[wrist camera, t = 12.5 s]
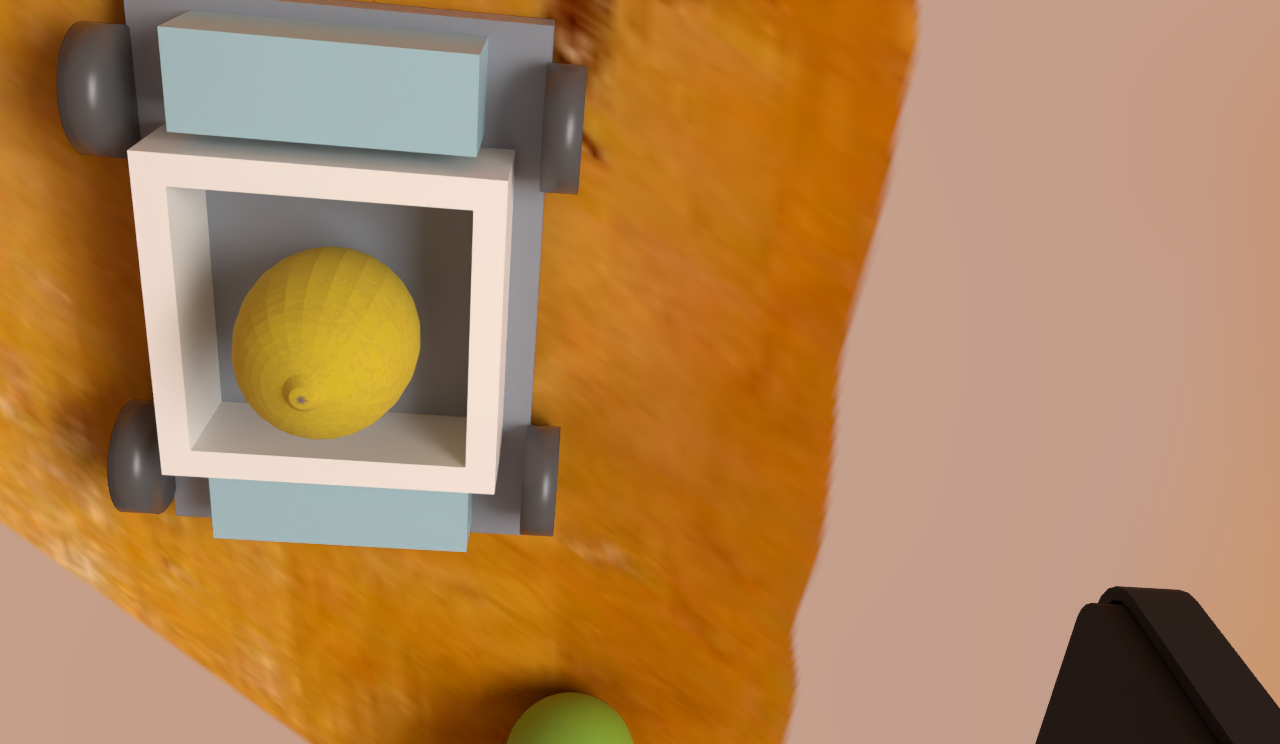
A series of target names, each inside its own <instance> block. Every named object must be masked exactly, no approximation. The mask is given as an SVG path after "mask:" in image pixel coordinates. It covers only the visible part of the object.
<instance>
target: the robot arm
mask: <svg viewBox="0 0 1280 744" xmlns="http://www.w3.org/2000/svg"><path fill="white" fill-rule="evenodd" d="M1036 744H1280V708H1279V707H1278V706H1277V704H1276V703H1275V702H1274V700H1273V699H1272V698H1271V696H1270V695H1269V694H1268V693H1267V691H1266V690H1265V689H1264V687H1263V686H1262V685H1261V683H1260V682H1259V681H1258V680H1257V678H1256V677H1255V676H1254V674H1253V673H1252V672H1251V671H1250V669H1249V668H1248V667H1247V665H1246V664H1245V663H1244V661H1243V660H1242V659H1241V657H1240V656H1239V655H1238V654H1237V652H1236V651H1235V650H1234V648H1233V647H1232V646H1231V644H1230V643H1229V642H1228V641H1227V639H1226V638H1225V637H1224V635H1223V634H1222V633H1221V632H1220V630H1219V629H1218V628H1217V626H1216V625H1215V624H1214V622H1213V621H1212V620H1211V619H1210V617H1209V616H1208V615H1207V613H1206V612H1205V611H1204V609H1203V608H1202V607H1201V606H1200V604H1199V603H1198V602H1197V601H1196V600H1195V599H1194V598H1193V597H1192V596H1191V595H1190V594H1189V593H1187V592H1184V591H1181V590H1172V589H1155V588H1136V587H1118V586H1116V587H1112V588H1109V589H1107V591H1106V592H1105V593H1104V594H1103V595H1102V596H1101V598H1100V600H1099V602H1098V603H1090V604H1087V605H1085V606H1084V607H1083V608H1082V609H1081V611H1080V613H1079V615H1078V617H1077V620H1076V623H1075V626H1074V629H1073V632H1072V635H1071V638H1070V641H1069V644H1068V647H1067V650H1066V653H1065V656H1064V659H1063V662H1062V665H1061V668H1060V671H1059V674H1058V677H1057V680H1056V683H1055V686H1054V689H1053V692H1052V696H1051V699H1050V701H1049V704H1048V707H1047V711H1046V713H1045V717H1044V719H1043V723H1042V725H1041V728H1040V732H1039V735H1038V737H1037V740H1036Z"/></svg>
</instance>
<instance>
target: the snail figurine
mask: <svg viewBox="0 0 1280 744" xmlns="http://www.w3.org/2000/svg"><path fill="white" fill-rule="evenodd" d="M506 744H634V743H633V740H632V737H631V734H630V731H629V729H628V727H627V725H626V724H625V722H624V721H623V719H622V718H621V717H620V715H619V714H618V713H617V712H616V711H615V710H614V709H613V708H612V707H611V706H609V705H608V704H607V703H605V702H603V701H602V700H600V699H598V698H596V697H593V696H591V695H587V694H583V693H576V692H566V693H559V694H555V695H551V696H548V697H546V698H544V699H542V700H540V701H538V702H536V703H535V704H533V705H532V706H531V707H530V708H528V709H527V710H526V711H525V712H524V713H523V714H522V715H521V717H520V718H519V719H518V720H517V722H516V723H515V725H514V727H513V728H512V730H511V732H510V735H509V737H508V740H507V743H506Z"/></svg>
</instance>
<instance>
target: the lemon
mask: <svg viewBox="0 0 1280 744" xmlns="http://www.w3.org/2000/svg"><path fill="white" fill-rule="evenodd" d="M419 352H420V321H419V317H418V314H417V310H416V307H415V304H414V300H413V298H412V296H411V295H410V293H409V291H408V290H407V288H406V286H405V285H404V283H403V281H402V280H401V279H400V278H399V277H398V276H397V275H396V274H395V273H394V272H393V271H392V270H391V269H390V268H389V267H388V266H387V265H385V264H383V263H382V262H380V261H379V260H377V259H376V258H374V257H372V256H371V255H368V254H365V253H363V252H360V251H357V250H354V249H351V248H342V247H333V246H326V247H319V248H311V249H306V250H304V251H301V252H298V253H296V254H293V255H291V256H288V257H286V258H284V259H282V260H281V261H280V262H278V263H277V264H276V265H274V266H273V267H272V268H270V269H269V270H268V271H266V272H265V273H264V274H263V275H262V276H261V277H260V278H259V279H258V281H257V282H256V283H255V285H254V286H253V287H252V289H251V290H250V291H249V293H248V294H247V295H246V297H245V299H244V300H243V303H242V305H241V308H240V311H239V314H238V316H237V319H236V322H235V325H234V329H233V338H232V364H233V369H234V373H235V377H236V381H237V384H238V386H239V388H240V390H241V392H242V394H243V396H244V398H245V399H246V401H247V403H248V404H249V405H250V406H251V407H252V408H253V409H254V411H255V412H256V413H257V414H258V415H259V416H260V417H261V418H263V419H264V420H265V421H267V422H268V423H270V424H271V425H273V426H274V427H275V428H277V429H279V430H282V431H284V432H286V433H289V434H291V435H293V436H298V437H303V438H308V439H335V438H339V437H343V436H347V435H351V434H354V433H356V432H358V431H360V430H362V429H364V428H366V427H368V426H370V425H372V424H373V423H375V422H376V421H377V420H378V419H379V418H380V417H382V416H383V415H384V414H385V413H386V412H387V411H388V410H389V409H390V408H391V407H392V406H393V405H395V403H396V402H397V401H398V400H399V398H400V396H401V395H402V393H403V392H404V390H405V388H406V387H407V385H408V383H409V382H410V380H411V379H412V376H413V374H414V370H415V367H416V363H417V360H418V356H419Z"/></svg>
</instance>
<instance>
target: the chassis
mask: <svg viewBox="0 0 1280 744" xmlns="http://www.w3.org/2000/svg"><path fill="white" fill-rule="evenodd" d="M124 10H125V20H126V25H122V24H111V23H99V22H88V21H79V22H76V23H75V24H73V25H72V26H71V27H70V29H69V30H68V31H67V33H66V35H65V37H64V40H63V42H62V45H61V49H60V53H59V58H58V65H57V85H56V86H57V101H58V108H59V114H60V118H61V122H62V126H63V129H64V131H65V134H66V136H67V138H68V140H69V142H70V144H71V145H72V147H73V148H74V149H75V150H76V151H77V152H78V153H80V154H82V155H87V156H99V157H112V158H124V159H127V158H128V164H129V173H130V182H131V192H132V201H133V210H134V220H135V229H136V238H137V248H138V257H139V266H140V276H141V285H142V294H143V304H144V313H145V322H146V332H147V341H148V350H149V360H150V369H151V378H152V388H153V397H154V401H151V400H131V401H129V402H127V403H126V404H125V405H124V407H123V408H122V410H121V411H120V413H119V415H118V417H117V419H116V422H115V425H114V428H113V431H112V435H111V440H110V445H109V452H108V463H107V477H108V487H109V492H110V496H111V499H112V502H113V504H114V506H115V507H116V508H117V509H118V510H119V511H121V512H134V513H152V514H160V513H162V512H164V511H165V510H166V509H167V508H168V506H169V505H170V503H171V501H172V499H173V497H174V498H175V508H176V515H178V516H196V517H212V523H213V535H214V538H223V539H241V540H259V541H277V542H294V543H312V544H330V545H348V546H366V547H384V548H402V549H420V550H438V551H456V552H466V551H467V545H468V540H469V534H470V532H476V533H493V534H511V535H537V536H553V531H554V518H555V504H556V490H557V475H558V460H559V444H560V427H554V426H538V425H531V415H532V398H533V381H534V364H535V348H536V331H537V314H538V297H539V280H540V263H541V247H542V230H543V213H544V196H545V192H549V193H561V194H574V195H578V186H579V174H580V161H581V147H582V134H583V119H584V104H585V89H586V72H587V66H584V65H572V64H561V63H552V61H553V45H554V28H555V20H553V19H542V18H531V17H520V16H509V15H498V14H488V13H477V12H466V11H455V10H444V9H433V8H422V7H411V6H400V5H389V4H378V3H368V2H357V1H346V0H124ZM326 246H333V247H342V248H351V249H354V250H357V251H360V252H363V253H365V254H368V255H371V256H372V257H374V258H376V259H377V260H379V261H380V262H382V263H383V264H385V265H387V266H388V267H389V268H390V269H391V270H392V271H393V272H394V273H395V274H396V275H397V276H398V277H399V278H400V279H401V280H402V281H403V283H404V285H405V286H406V288H407V290H408V291H409V293H410V295H411V296H412V298H413V300H414V304H415V307H416V310H417V314H418V317H419V321H420V352H419V356H418V360H417V363H416V367H415V370H414V374H413V376H412V379H411V380H410V382H409V383H408V385H407V387H406V388H405V390H404V392H403V393H402V395H401V396H400V398H399V400H398V401H397V402H396V403H395V405H393V406H392V407H391V408H390V409H389V410H388V411H387V412H386V413H385V414H384V415H383V416H382V417H380V418H379V419H378V420H377V421H376V422H375V423H373V424H372V425H370V426H368V427H366V428H364V429H362V430H360V431H358V432H356V433H354V434H351V435H347V436H343V437H339V438H335V439H308V438H303V437H298V436H293V435H291V434H289V433H286V432H284V431H282V430H279V429H277V428H275V427H274V426H273V425H271V424H270V423H268V422H267V421H265V420H264V419H263V418H261V417H260V416H259V415H258V414H257V413H256V412H255V411H254V409H253V408H252V407H251V406H250V405H249V404H248V403H247V401H246V399H245V398H244V396H243V394H242V392H241V390H240V388H239V386H238V384H237V381H236V377H235V373H234V369H233V364H232V338H233V329H234V325H235V322H236V319H237V316H238V314H239V311H240V308H241V305H242V303H243V300H244V299H245V297H246V295H247V294H248V293H249V291H250V290H251V289H252V287H253V286H254V285H255V283H256V282H257V281H258V279H259V278H260V277H261V276H262V275H263V274H264V273H265V272H266V271H268V270H269V269H270V268H272V267H273V266H274V265H276V264H277V263H278V262H280V261H281V260H282V259H284V258H286V257H288V256H291V255H293V254H296V253H298V252H301V251H304V250H306V249H311V248H319V247H326Z"/></svg>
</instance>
